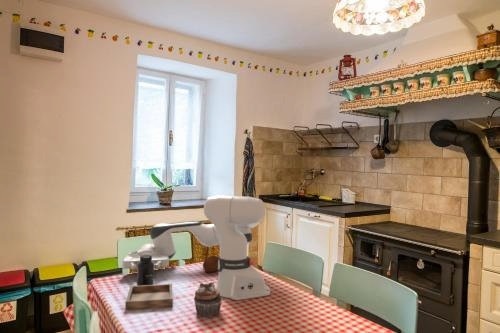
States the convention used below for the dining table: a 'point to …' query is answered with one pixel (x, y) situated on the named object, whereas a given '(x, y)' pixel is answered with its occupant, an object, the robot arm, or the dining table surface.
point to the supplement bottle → (145, 270)
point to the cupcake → (207, 301)
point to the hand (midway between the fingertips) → (145, 267)
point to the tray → (149, 297)
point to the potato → (211, 264)
